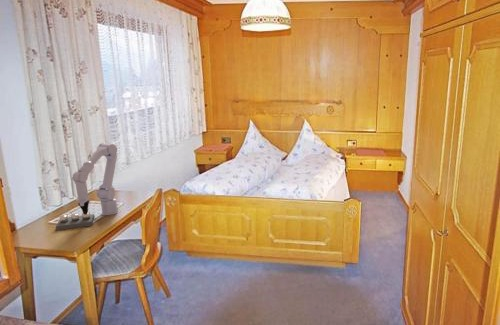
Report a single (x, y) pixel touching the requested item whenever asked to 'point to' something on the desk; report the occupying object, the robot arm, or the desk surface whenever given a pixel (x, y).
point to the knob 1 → (64, 218)
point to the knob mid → (75, 217)
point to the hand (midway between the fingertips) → (85, 213)
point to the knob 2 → (86, 216)
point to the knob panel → (75, 223)
